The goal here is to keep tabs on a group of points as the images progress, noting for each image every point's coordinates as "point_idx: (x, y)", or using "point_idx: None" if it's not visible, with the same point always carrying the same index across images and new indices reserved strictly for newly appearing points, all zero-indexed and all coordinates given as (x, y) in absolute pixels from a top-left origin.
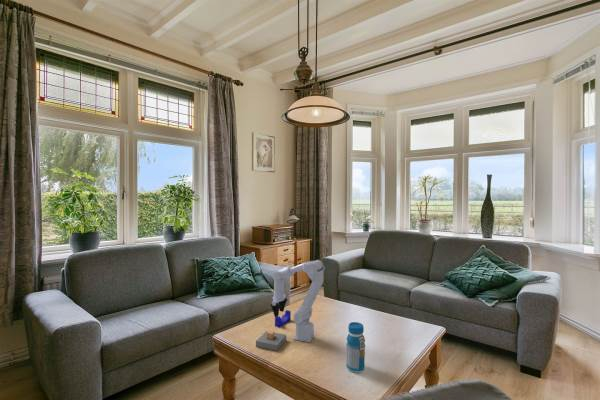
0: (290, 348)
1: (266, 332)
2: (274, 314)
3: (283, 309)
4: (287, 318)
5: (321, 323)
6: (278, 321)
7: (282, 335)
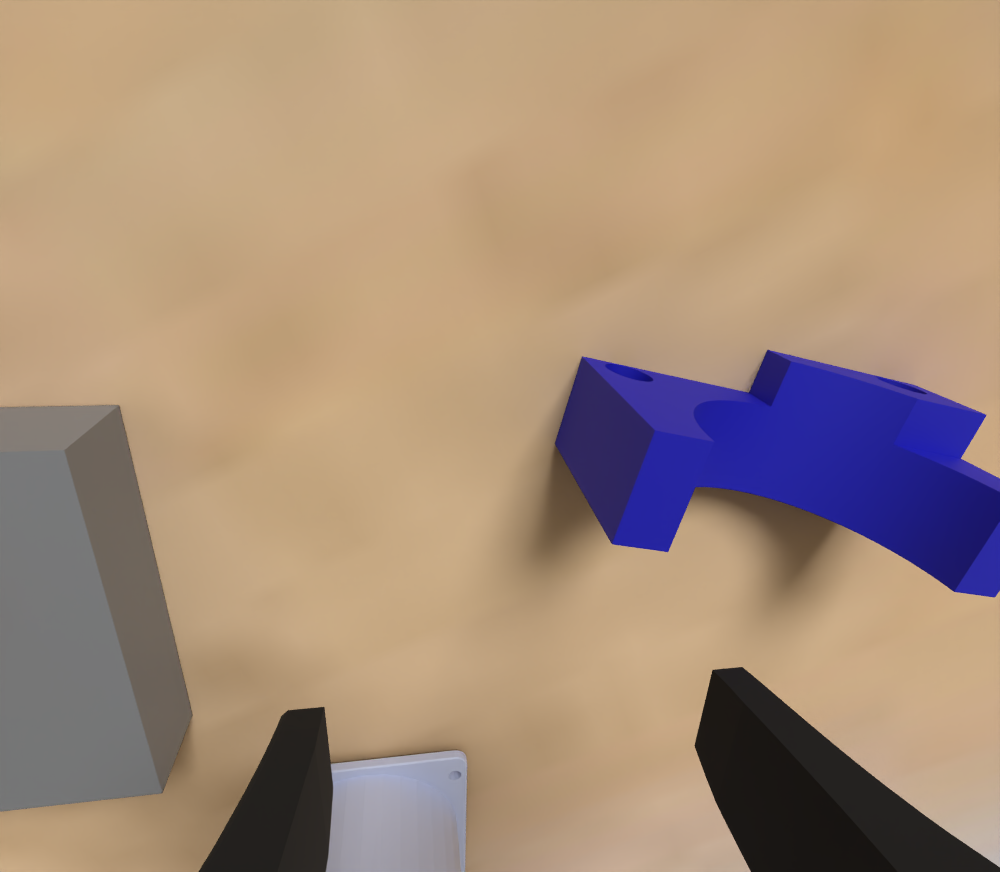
0: (18, 834)
1: (3, 480)
2: (265, 771)
3: (727, 818)
4: (823, 514)
5: None
6: (587, 487)
7: (99, 761)
